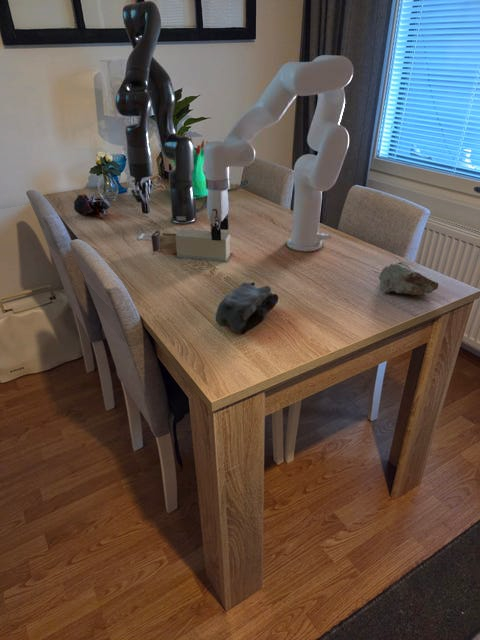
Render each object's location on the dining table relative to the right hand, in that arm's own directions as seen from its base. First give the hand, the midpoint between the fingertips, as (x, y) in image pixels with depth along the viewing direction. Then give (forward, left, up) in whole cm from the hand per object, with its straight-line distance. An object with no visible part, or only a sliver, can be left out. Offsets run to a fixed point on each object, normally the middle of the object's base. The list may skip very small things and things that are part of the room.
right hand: (220, 234), depth 150 cm
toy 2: (-2, -76, -8) cm, 76 cm away
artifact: (-48, +37, -8) cm, 61 cm away
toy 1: (+44, -55, -8) cm, 70 cm away
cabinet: (+6, -2, -8) cm, 10 cm away
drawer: (+17, -8, -7) cm, 20 cm away
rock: (+2, +43, -8) cm, 44 cm away
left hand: (+23, -12, +6) cm, 27 cm away
